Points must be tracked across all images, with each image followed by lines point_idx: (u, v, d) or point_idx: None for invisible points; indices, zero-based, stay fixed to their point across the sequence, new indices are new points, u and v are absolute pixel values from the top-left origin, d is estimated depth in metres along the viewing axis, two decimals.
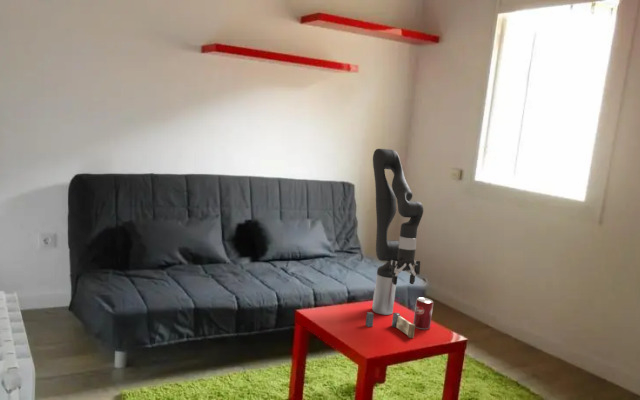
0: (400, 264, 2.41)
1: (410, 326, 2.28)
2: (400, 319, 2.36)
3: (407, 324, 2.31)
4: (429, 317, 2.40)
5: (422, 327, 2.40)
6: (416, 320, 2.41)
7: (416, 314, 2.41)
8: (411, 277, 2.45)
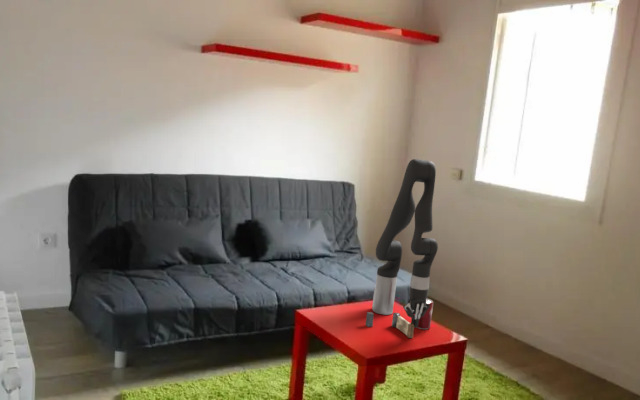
0: (413, 307, 2.28)
1: (409, 326, 2.28)
2: (400, 319, 2.36)
3: (406, 324, 2.31)
4: (429, 317, 2.40)
5: (422, 327, 2.40)
6: None
7: None
8: None
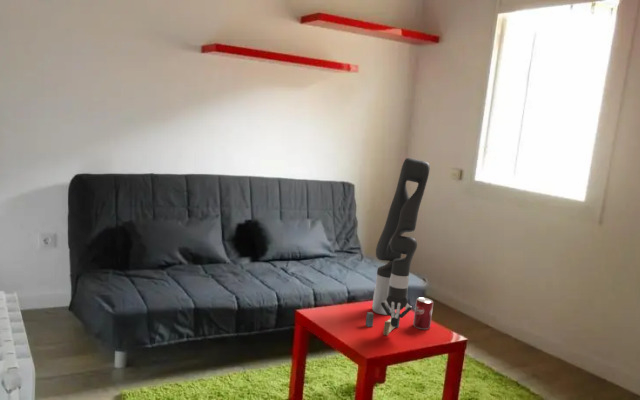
0: (389, 304, 2.28)
1: None
2: None
3: None
4: (429, 317, 2.40)
5: (422, 327, 2.40)
6: (416, 320, 2.41)
7: (416, 314, 2.41)
8: None
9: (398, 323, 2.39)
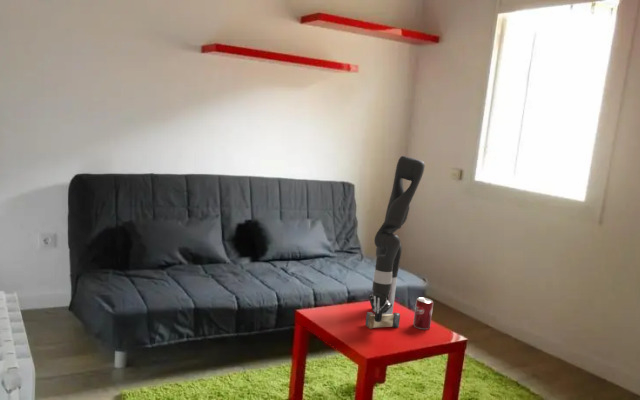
0: (374, 298, 2.34)
1: None
2: None
3: None
4: (429, 317, 2.40)
5: (422, 327, 2.40)
6: (416, 320, 2.41)
7: (416, 314, 2.41)
8: None
9: (398, 323, 2.39)
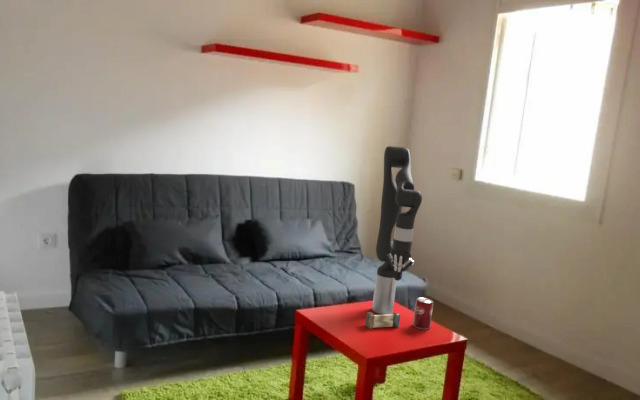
0: (393, 257, 2.29)
1: None
2: None
3: None
4: (429, 317, 2.40)
5: (422, 327, 2.40)
6: (416, 320, 2.41)
7: (416, 314, 2.41)
8: None
9: (398, 323, 2.39)
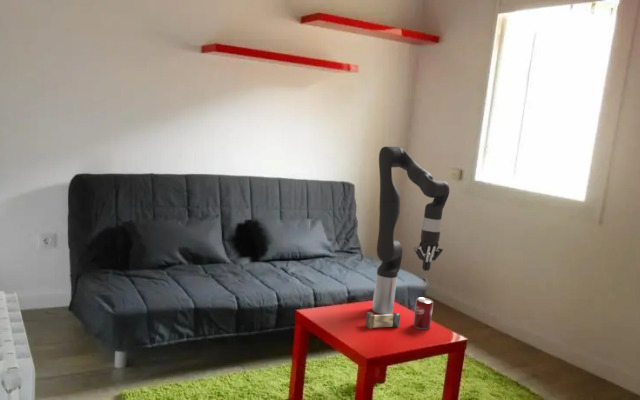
0: (424, 249, 2.29)
1: None
2: None
3: None
4: (429, 317, 2.40)
5: (422, 327, 2.40)
6: (416, 320, 2.41)
7: (416, 314, 2.41)
8: None
9: (398, 323, 2.39)
